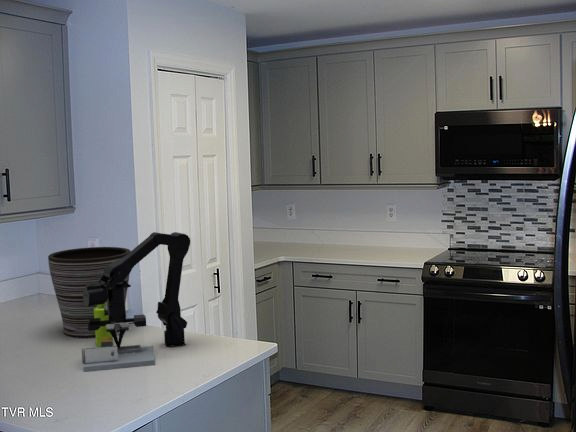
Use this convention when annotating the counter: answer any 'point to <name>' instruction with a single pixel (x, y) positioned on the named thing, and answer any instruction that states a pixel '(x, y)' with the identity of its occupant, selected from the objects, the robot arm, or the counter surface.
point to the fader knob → (106, 342)
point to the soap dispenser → (102, 330)
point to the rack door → (101, 354)
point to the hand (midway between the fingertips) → (118, 347)
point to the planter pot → (80, 284)
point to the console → (123, 358)
